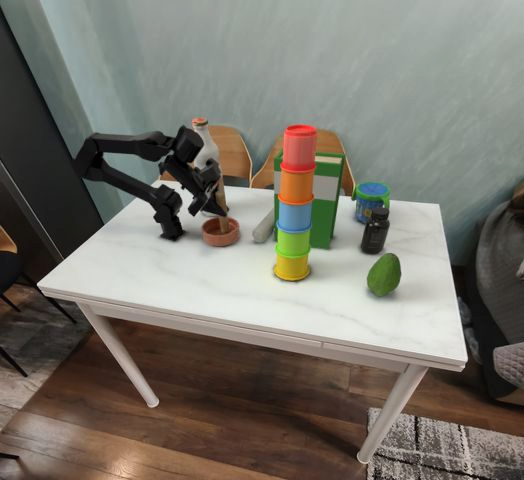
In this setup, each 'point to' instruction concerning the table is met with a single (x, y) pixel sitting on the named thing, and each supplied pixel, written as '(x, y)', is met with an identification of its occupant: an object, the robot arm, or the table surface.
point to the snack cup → (370, 199)
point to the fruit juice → (206, 151)
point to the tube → (264, 227)
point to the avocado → (384, 275)
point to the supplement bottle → (375, 231)
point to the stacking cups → (295, 202)
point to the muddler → (222, 203)
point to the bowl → (212, 232)
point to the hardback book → (317, 196)
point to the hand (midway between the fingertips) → (227, 213)
